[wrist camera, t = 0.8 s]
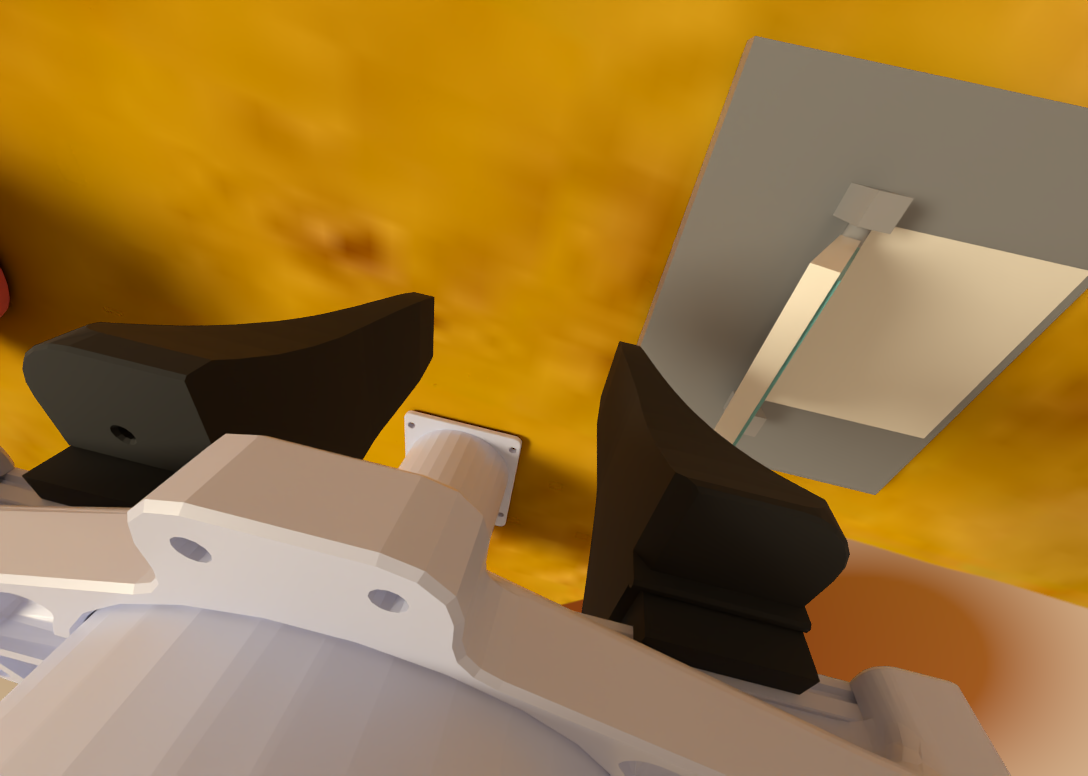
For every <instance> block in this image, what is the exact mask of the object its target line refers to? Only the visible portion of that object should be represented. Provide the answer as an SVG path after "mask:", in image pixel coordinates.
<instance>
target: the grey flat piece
mask: <svg viewBox="0 0 1088 776" xmlns="http://www.w3.org/2000/svg"><path fill="white" fill-rule="evenodd" d="M840 235H842V236H846V237H849V238H852V239H856V240H859V241H861V242H860V244H859V245H858V248H860V250H859V251H858V253H857V255H856V256H855V258H854V260H853V262H852V263H851V265H850V267H849V268H848V270H847V272H846V273H845V275H844V277H843V278H842V280H841V282H840V283H839V285H838V286H837V288H836V290H835V291H834V293H833V294H832V296H831V297H830V299H829V301H828V302H827V304H826V305H825V307H824V308H823V310H822V311H821V313H820V315H819V316H818V318H817V319H816V321H815V322H814V324H813V326H812V327H811V329H810V330H809V332H808V333H807V335H806V336H805V338H804V340H803V341H802V343H801V344H800V346H799V347H798V349H797V351H796V352H795V354H794V355H793V357H792V358H791V360H790V362H789V363H788V365H787V366H786V368H785V369H784V371H783V372H782V374H781V376H780V377H779V379H778V380H777V382H776V383H775V385H774V387H773V388H772V390H771V391H770V393H769V394H768V396H767V397H766V399H765V401H764V402H763V404H762V405H761V407H760V408H759V410H758V412H757V413H756V415H755V416H754V418H753V419H752V421H751V422H750V424H749V426H748V427H747V429H746V430H745V432H744V433H743V435H742V437H741V438H740V440H739V441H738V443H737V444H736V446H735V447H737V448H738V449H740V450H741V451H742V452H744V453H745V454H747V455H748V456H750V457H751V458H753V459H754V460H756V461H757V462H759V463H761V464H762V465H764V466H765V467H767V468H768V469H771V470H776V471H780V472H784V473H788V474H792V475H796V476H800V477H804V478H808V479H812V480H816V481H820V482H825V483H829V484H833V485H837V486H841V487H845V488H849V489H853V490H857V491H861V492H865V493H870V494H874V495H876V494H877V493H878V492H879V491H880V490H881V489H882V488H883V487H884V486H885V485H886V484H887V483H888V482H889V481H890V480H891V479H892V478H893V477H894V476H895V475H896V474H897V473H898V472H899V471H900V470H901V469H902V468H903V467H905V466H906V465H907V464H908V463H909V462H910V461H911V460H912V459H913V458H914V457H915V456H916V455H917V454H918V453H919V452H920V451H921V450H922V449H923V448H924V447H925V446H926V445H927V444H928V443H929V442H930V441H931V440H932V439H933V438H934V437H935V436H936V435H937V434H938V433H939V432H940V431H941V430H942V429H944V428H945V427H946V426H947V425H948V424H949V423H950V422H951V421H952V420H953V419H954V418H955V417H956V416H957V415H958V414H959V413H960V412H961V411H962V410H963V409H964V408H965V407H966V406H967V405H968V404H969V403H970V402H971V401H972V400H973V399H974V398H975V397H976V396H977V395H978V394H979V393H980V392H981V391H983V390H984V389H985V388H986V387H987V386H988V385H989V384H990V383H991V382H992V381H993V380H994V379H995V378H996V377H997V376H998V375H999V374H1000V373H1001V372H1002V371H1003V370H1004V369H1005V368H1006V367H1007V366H1008V365H1009V364H1010V363H1011V362H1012V361H1013V360H1014V359H1015V358H1016V357H1017V356H1018V355H1019V354H1020V353H1022V352H1023V351H1024V350H1025V349H1026V348H1027V347H1028V346H1029V345H1030V344H1031V343H1032V342H1033V341H1034V340H1035V339H1036V338H1037V337H1038V336H1039V335H1040V334H1041V333H1042V332H1043V331H1044V330H1045V329H1046V328H1047V327H1048V326H1049V325H1050V324H1051V323H1052V322H1053V321H1054V320H1055V319H1056V318H1057V317H1058V316H1059V315H1061V314H1062V313H1063V312H1064V311H1065V310H1066V309H1067V308H1068V307H1069V306H1070V305H1071V304H1072V303H1073V302H1074V301H1075V300H1076V299H1077V298H1078V297H1079V296H1080V295H1081V294H1082V293H1083V292H1084V291H1085V290H1086V289H1087V288H1088V108H1085V107H1081V106H1076V105H1071V104H1067V103H1062V102H1058V101H1053V100H1048V99H1044V98H1039V97H1034V96H1030V95H1025V94H1021V93H1016V92H1011V91H1007V90H1002V89H998V88H993V87H988V86H984V85H979V84H974V83H970V82H965V81H961V80H956V79H951V78H947V77H942V76H937V75H933V74H928V73H924V72H919V71H914V70H910V69H905V68H901V67H896V66H891V65H887V64H882V63H877V62H873V61H868V60H864V59H859V58H854V57H850V56H845V55H841V54H836V53H831V52H827V51H822V50H817V49H813V48H808V47H804V46H799V45H794V44H790V43H785V42H780V41H776V40H771V39H767V38H762V37H757V36H755V37H753V38H751V39H749V40H748V41H747V44H746V46H745V49H744V52H743V55H742V57H741V60H740V63H739V66H738V68H737V71H736V74H735V76H734V79H733V82H732V85H731V87H730V90H729V93H728V96H727V98H726V101H725V104H724V107H723V109H722V112H721V115H720V118H719V120H718V123H717V126H716V129H715V131H714V134H713V137H712V140H711V142H710V145H709V148H708V151H707V153H706V156H705V159H704V162H703V164H702V167H701V170H700V173H699V175H698V178H697V181H696V184H695V186H694V189H693V192H692V195H691V197H690V200H689V203H688V206H687V208H686V211H685V214H684V217H683V219H682V222H681V225H680V228H679V230H678V233H677V236H676V239H675V241H674V244H673V247H672V250H671V252H670V255H669V258H668V261H667V263H666V266H665V269H664V272H663V274H662V277H661V280H660V283H659V285H658V288H657V291H656V294H655V296H654V299H653V302H652V304H651V307H650V310H649V313H648V315H647V318H646V321H645V324H644V326H643V329H642V332H641V335H640V337H639V340H638V343H637V346H640V347H641V348H642V349H643V350H644V351H645V353H646V354H647V356H648V357H649V358H650V360H651V361H652V363H653V364H654V365H655V367H656V368H657V369H658V371H659V372H660V373H661V375H662V376H663V377H664V379H665V380H666V381H667V383H668V384H669V385H670V386H671V387H672V389H673V390H674V391H675V392H676V393H677V394H678V395H679V397H680V398H681V399H682V400H683V401H684V402H685V403H686V404H687V405H688V406H689V407H690V408H691V409H692V410H693V411H694V412H695V413H696V414H697V415H698V416H699V417H700V418H701V419H702V420H703V421H704V422H706V423H707V424H708V425H709V426H710V427H711V428H712V429H715V427H716V425H717V423H718V422H719V420H720V418H721V416H722V415H723V413H724V411H725V410H726V408H727V406H728V404H729V403H730V401H731V399H732V397H733V396H734V394H735V392H736V390H737V389H738V387H739V385H740V384H741V382H742V380H743V378H744V377H745V375H746V373H747V371H748V370H749V368H750V366H751V364H752V363H753V361H754V359H755V358H756V356H757V354H758V352H759V351H760V349H761V347H762V345H763V344H764V342H765V340H766V338H767V337H768V335H769V333H770V332H771V330H772V328H773V326H774V325H775V323H776V321H777V319H778V318H779V316H780V314H781V312H782V311H783V309H784V307H785V306H786V304H787V302H788V300H789V299H790V297H791V295H792V293H793V292H794V290H795V288H796V286H797V285H798V283H799V281H800V279H801V278H802V276H803V274H804V273H805V271H806V269H807V267H808V266H809V264H810V262H812V261H813V260H814V259H815V258H816V257H817V256H818V255H819V254H820V253H821V252H822V251H823V250H825V249H826V248H827V247H828V246H829V245H830V244H831V243H832V242H833V241H834V240H835V239H836V238H838V237H839V236H840Z"/></svg>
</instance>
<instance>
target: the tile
mask: <svg viewBox="0 0 1088 776" xmlns="http://www.w3.org/2000/svg"><path fill="white" fill-rule="evenodd" d="M860 242H861V241H859V240H856V239H852V238H849V237H846V236H842V235H840V236H839V237H838V238H836V239H835V240H834V241H833V242H832V243H831V244H830V245H829V246H828V247H827V248H826V249H825V250H823V251H822V252H821V253H820V254H819V255H818V256H817V257H816V258H815V259H814V260H813V261H812V262H810V264H809V266H808V267H807V269H806V271H805V273H804V274H803V276H802V278H801V279H800V281H799V283H798V285H797V286H796V288H795V290H794V292H793V293H792V295H791V297H790V299H789V300H788V302H787V304H786V306H785V307H784V309H783V311H782V312H781V314H780V316H779V318H778V319H777V321H776V323H775V325H774V326H773V328H772V330H771V332H770V333H769V335H768V337H767V338H766V340H765V342H764V344H763V345H762V347H761V349H760V351H759V352H758V354H757V356H756V358H755V359H754V361H753V363H752V364H751V366H750V368H749V370H748V371H747V373H746V375H745V377H744V378H743V380H742V382H741V384H740V385H739V387H738V389H737V390H736V392H735V394H734V396H733V397H732V399H731V401H730V403H729V404H728V406H727V408H726V410H725V411H724V413H723V415H722V416H721V418H720V420H719V422H718V423H717V425H716V427H715V429H714V430H715V431H716V432H717V433H718V434H720V435H721V436H722V437H724V438H725V439H726V440H728V441H729V442H730V443H731V444H733V445H734V446H736V444H737V443H738V441H739V440H740V438H741V437H742V435H743V433H744V432H745V430H746V429H747V427H748V426H749V424H750V422H751V421H752V419H753V418H754V416H755V415H756V413H757V412H758V410H759V408H760V407H761V405H762V404H763V402H764V401H765V399H766V397H767V396H768V394H769V393H770V391H771V390H772V388H773V387H774V385H775V383H776V382H777V380H778V379H779V377H780V376H781V374H782V372H783V371H784V369H785V368H786V366H787V365H788V363H789V362H790V360H791V358H792V357H793V355H794V354H795V352H796V351H797V349H798V347H799V346H800V344H801V343H802V341H803V340H804V338H805V336H806V335H807V333H808V332H809V330H810V329H811V327H812V326H813V324H814V322H815V321H816V319H817V318H818V316H819V315H820V313H821V311H822V310H823V308H824V307H825V305H826V304H827V302H828V301H829V299H830V297H831V296H832V294H833V293H834V291H835V290H836V288H837V286H838V285H839V283H840V282H841V280H842V278H843V277H844V275H845V273H846V272H847V270H848V268H849V267H850V265H851V263H852V262H853V260H854V258H855V256H856V255H857V253H858V251H859V250H860V248H858V245H859V244H860Z"/></svg>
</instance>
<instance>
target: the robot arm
mask: <svg viewBox="0 0 1088 776" xmlns="http://www.w3.org/2000/svg"><path fill="white" fill-rule="evenodd" d="M433 332H434V297H432V296H428V295H424V294H420V293H415V292H412V293H405V294H400V295H396V296H392V297H389V298H385V299H381V300H378V301H374V302H370V303H366V304H363V305H359V306H355V307H351V308H347V309H342V310H338V311H334V312H330V313H325V314H320V315H315V316H310V317H304V318H297V319H290V320H283V321H274V322H261V323H249V324H237V325H209V326H173V325H146V324H124V323H106V322H97V323H92V324H88V325H86V326H83V327H81V328H78V329H76V330H73V331H70V332H68V333H65V334H63V335H60V336H58V337H55V338H53V339H50V340H48V341H45V342H42V343H40V344H37V345H35V346H33V347H32V348H31V349H30V350H28V351H27V352H26V353H25V357H24V362H23V373H24V376H25V380H26V383H27V385H28V386H29V388H30V390H31V392H32V393H33V395H34V397H35V398H36V399H37V401H38V402H39V404H40V405H41V406H42V408H43V409H44V411H45V412H46V413H47V415H48V416H49V418H50V419H51V420H52V422H53V423H54V425H55V426H56V427H57V429H58V430H59V432H60V433H61V434H62V436H63V437H64V439H65V440H66V441H67V443H68V444H69V445H71V446H70V447H68V448H67V449H65V450H63V451H62V452H60V453H58V454H57V455H55V456H53V457H52V458H50V459H48V460H47V461H45V462H43V463H42V464H40V465H38V466H37V467H35V468H33V469H32V470H30V471H27V470H23V469H19V468H15V467H14V462H13V461H12V459H11V458H10V456H9V455H8V454H7V453H6V452H5V450H4V449H3V448H2V447H0V677H1V678H4V679H6V680H9V681H12V682H15V683H18V685H17V686H16V687H15V688H14V689H13V690H12V691H11V692H10V693H9V694H8V695H6V696H5V697H4V698H3V699H2V700H1V701H0V776H1011V775H1010V773H1009V771H1008V770H1007V768H1006V766H1005V765H1004V763H1003V761H1002V760H1001V758H1000V756H999V755H998V753H997V751H996V749H995V748H994V746H993V745H992V743H991V741H990V739H989V738H988V736H987V734H986V733H985V731H984V729H983V727H982V726H981V724H980V722H979V721H978V719H977V717H976V716H975V714H974V712H973V711H972V709H971V707H970V705H969V704H968V702H967V700H966V699H965V697H964V695H963V694H962V692H961V691H960V688H959V687H958V686H957V685H956V684H954V683H952V682H950V681H947V680H943V679H939V678H935V677H931V676H928V675H924V674H920V673H916V672H912V671H908V670H904V669H900V668H896V667H889V666H878V667H872V668H869V669H866V670H864V671H862V672H861V673H859V674H858V675H856V676H855V677H854V678H853V679H852V680H851V682H847V681H843V680H839V679H836V678H832V677H827V676H824V675H820V674H817V671H816V668H815V665H814V662H813V659H812V657H811V654H810V651H809V648H808V645H807V642H806V640H805V637H804V634H803V632H805V633H807V632H808V631H810V630H811V622H810V620H809V617H808V614H807V611H806V609H805V605H806V604H808V603H809V602H810V601H811V600H812V599H814V598H815V597H816V596H817V595H818V594H819V593H820V592H822V591H823V590H824V589H825V588H826V587H827V586H829V585H830V584H831V583H832V582H833V581H834V580H835V579H836V578H837V577H838V575H839V574H840V573H841V572H842V570H843V569H844V568H845V567H846V564H847V561H848V558H849V555H850V553H849V548H848V542H847V540H846V538H845V536H844V534H843V532H842V530H841V528H840V527H839V525H838V523H837V521H836V519H835V517H834V515H833V513H832V511H831V510H830V508H829V506H828V504H827V502H826V501H825V500H824V499H822V498H821V497H819V496H817V495H815V494H813V493H811V492H809V491H808V490H806V489H804V488H802V487H800V486H798V485H796V484H795V483H793V482H791V481H789V480H787V479H785V478H783V477H782V476H780V475H778V474H777V473H775V472H773V471H772V470H770V469H768V468H767V467H765V466H764V465H762V464H761V463H759V462H757V461H756V460H754V459H753V458H751V457H750V456H748V455H747V454H745V453H744V452H742V451H741V450H740V449H738V448H737V447H735V446H734V445H733V444H731V443H730V442H729V441H728V440H726V439H725V438H724V437H722V436H721V435H720V434H718V433H717V432H716V431H715V430H714V429H712V428H711V427H710V426H709V425H708V424H707V423H706V422H704V421H703V420H702V419H701V418H700V417H699V416H698V415H697V414H696V413H695V412H694V411H693V410H692V409H691V408H690V407H689V406H688V405H687V404H686V403H685V402H684V401H683V400H682V399H681V398H680V397H679V395H678V394H677V393H676V392H675V391H674V390H673V389H672V387H671V386H670V385H669V384H668V383H667V381H666V380H665V379H664V377H663V376H662V375H661V373H660V372H659V371H658V369H657V368H656V367H655V365H654V364H653V363H652V361H651V360H650V358H649V357H648V356H647V354H646V353H645V351H644V350H643V349H642V348H641V347H640V346H637V345H633V344H629V343H625V342H621V341H619V344H618V347H617V350H616V353H615V356H614V359H613V362H612V365H611V368H610V371H609V374H608V377H607V380H606V383H605V386H604V389H603V392H602V395H601V400H600V407H599V414H598V421H597V498H596V507H595V516H594V524H593V533H592V541H591V549H590V557H589V564H588V571H587V579H586V586H585V593H584V600H583V607H582V613H579V612H575V611H572V610H570V609H568V608H566V607H563V606H561V605H559V604H557V603H555V602H553V601H551V600H549V599H547V598H545V597H542V596H540V595H538V594H536V593H534V592H532V591H530V590H528V589H526V588H524V587H521V586H519V585H517V584H515V583H513V582H511V581H509V580H507V579H505V578H502V577H500V576H498V575H496V574H494V573H492V572H490V571H488V570H486V558H487V552H488V547H489V541H490V538H491V535H492V532H493V528H494V525H496V526H504V525H505V523H506V519H507V514H508V509H509V505H510V500H511V495H512V490H513V485H514V480H515V475H516V470H517V465H518V461H519V456H520V451H521V446H522V440H521V439H520V438H519V437H517V436H513V435H509V434H505V433H501V432H497V431H493V430H489V429H485V428H481V427H477V426H473V425H469V424H465V423H461V422H457V421H453V420H449V419H444V418H440V417H436V416H432V415H428V414H424V413H420V412H416V411H408V412H407V413H406V415H405V417H404V419H405V450H406V457H405V459H404V460H403V462H402V464H401V465H400V467H399V468H398V469H397V468H393V467H389V466H385V465H381V464H377V463H373V462H369V461H365V460H363V458H364V457H365V455H366V453H367V452H368V450H369V448H370V447H371V445H372V443H373V442H374V440H375V439H376V437H377V436H378V435H379V433H380V432H381V430H382V429H383V428H384V426H385V425H386V424H387V423H388V421H389V420H390V419H391V417H392V416H393V415H394V414H395V412H396V411H397V410H398V408H399V407H400V406H401V405H402V403H403V402H404V401H405V399H406V398H407V397H408V396H409V394H410V393H411V392H412V390H413V389H414V388H415V386H416V385H417V384H418V382H419V381H420V379H421V378H422V376H423V374H424V372H425V371H426V369H427V367H428V365H429V363H430V361H431V359H432V357H433ZM411 422H412V423H414V424H415V425H414V424H412V423H411ZM511 447H512V448H515V449H512V448H511Z"/></svg>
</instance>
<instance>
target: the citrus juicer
mask: <svg viewBox="0 0 1088 776" xmlns="http://www.w3.org/2000/svg"><path fill="white" fill-rule="evenodd" d="M9 301H10V297H9V290H8V285H7V282H6V280H5V277H4V274H3V272H2V270H1V268H0V317H2V316H3V314H4V313H5V312H6V311H7V309H8V306H9Z"/></svg>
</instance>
